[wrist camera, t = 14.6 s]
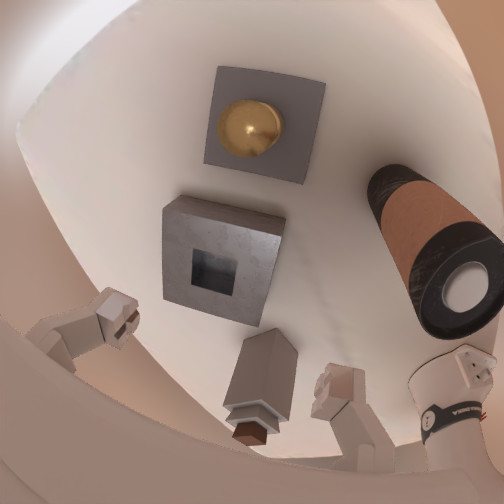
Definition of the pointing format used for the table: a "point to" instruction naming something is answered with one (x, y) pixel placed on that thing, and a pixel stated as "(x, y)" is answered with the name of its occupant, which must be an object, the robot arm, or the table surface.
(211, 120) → the mat
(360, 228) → the table surface
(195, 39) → the table surface
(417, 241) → the travel mug
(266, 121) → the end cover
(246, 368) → the grey square bottle
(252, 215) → the housing
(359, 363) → the table surface
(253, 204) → the table surface
